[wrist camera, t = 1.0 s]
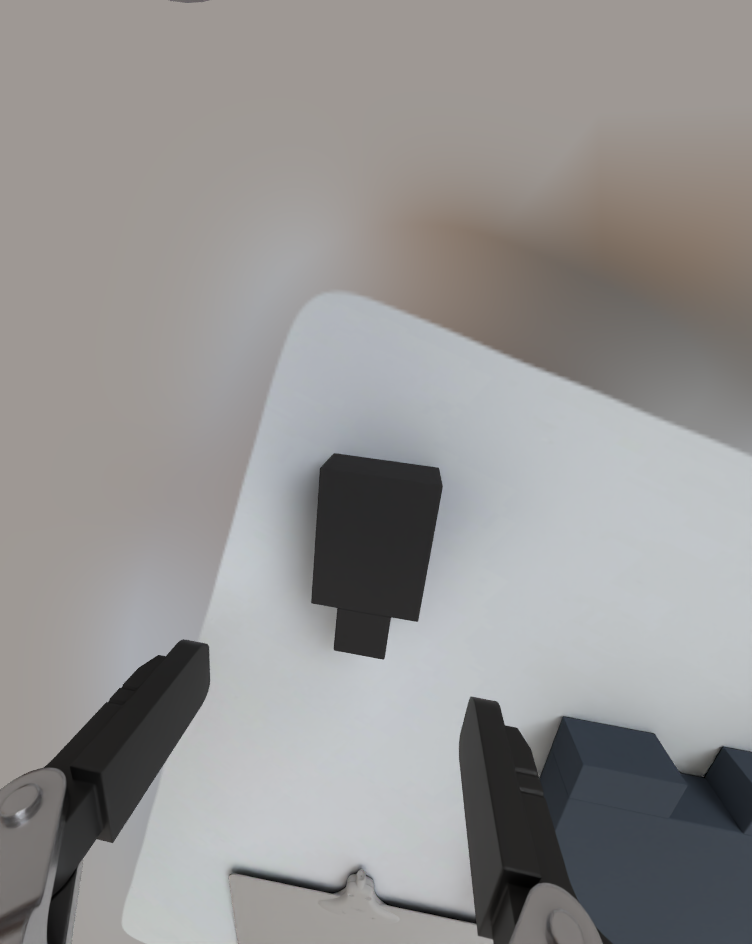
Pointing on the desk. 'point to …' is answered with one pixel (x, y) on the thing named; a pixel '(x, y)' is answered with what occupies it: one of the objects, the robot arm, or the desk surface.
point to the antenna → (335, 916)
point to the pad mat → (652, 836)
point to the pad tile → (373, 546)
